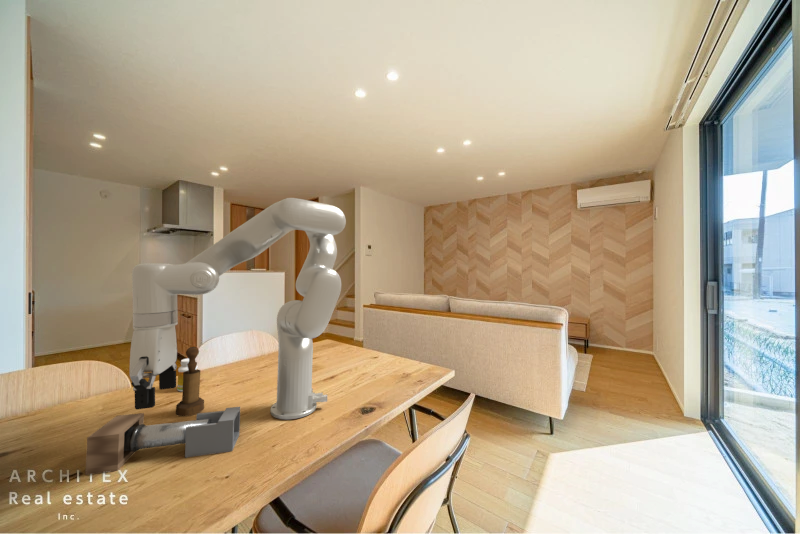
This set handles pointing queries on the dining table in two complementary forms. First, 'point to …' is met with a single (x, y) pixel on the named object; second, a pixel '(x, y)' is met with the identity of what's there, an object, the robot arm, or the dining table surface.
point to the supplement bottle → (180, 373)
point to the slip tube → (158, 435)
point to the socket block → (110, 444)
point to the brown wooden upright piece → (190, 387)
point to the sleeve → (213, 433)
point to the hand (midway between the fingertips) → (157, 397)
